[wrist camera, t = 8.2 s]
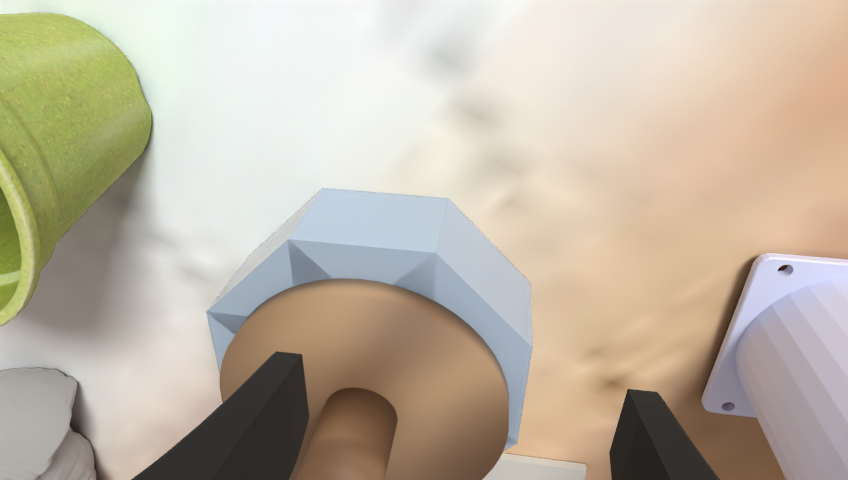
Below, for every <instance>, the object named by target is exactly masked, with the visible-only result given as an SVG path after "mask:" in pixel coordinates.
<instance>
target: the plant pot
mask: <svg viewBox="0 0 848 480" xmlns="http://www.w3.org/2000/svg"><path fill="white" fill-rule="evenodd" d="M151 125H152V120H151V110H150V107H149V106H148V104H147V103H146V101H145V98H144V96H143V93H142V91H141V88H140V86H139V82H138V79H137V75H136V71H135V69H134V67H133V65H132V64H131V63H130V61H129V60H128V59H127V57H126V56H125V55H124V54H123V53H122V52H121V51H120V49H119V48H118V47H117V46H116V45H115V44H113V43H112V42H111V41H110V40H109V39H108V38H107V37H105V36H104V35H103V34H101V33H100V32H99V31H97V30H96V29H94V28H93V27H91V26H89V25H87V24H86V23H84V22H82V21H79V20H77V19H75V18H72V17H68V16H65V15H61V14H53V13H19V14H0V326H2V325H4V324H6V323H7V322H9V321H10V320H11V319H12V318H14V317H15V316H16V315H17V314H18V313H19V312H20V311H21V310H22V309H23V308H24V307H25V306H26V304H27V303H28V302H29V300H30V298H31V297H32V295H33V293H34V290H35V288H36V285H37V282H38V278H39V273H40V270H41V269H42V268H43V267H44V266H45V265H46V263H47V262H48V260H49V259H50V257H51V255H52V253H53V250H54V247H55V244H56V243H57V242H58V241H59V240H60V238H61V237H62V236H63V235H64V234H65V233H66V232H67V231H68V230H69V229H70V228H71V227H72V226H73V224H74V223H75V222H76V221H77V220H78V219H79V218H80V217H81V216H82V215H83V214H84V213H85V212H86V211H87V210H88V208H89V207H90V206H91V205H92V204H93V203H94V202H95V201H96V200H97V199H98V198H99V197H100V196H101V195H102V194H103V193H104V192H105V191H106V190H107V189H108V188H109V187H110V186H111V185H112V184H113V183H114V182H115V181H116V180H117V179H118V178H119V177H120V176H121V175H122V174H123V173H124V172H125V171H126V170H127V169H128V168H129V166H130V165H131V164H132V163H133V162H134V161H135V160H136V159H137V158H138V157H139V156H140V155H141V154H142V153H143V151H144V149H145V147H146V145H147V143H148V140H149V136H150V132H151Z"/></svg>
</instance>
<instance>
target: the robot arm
mask: <svg viewBox="0 0 848 480" xmlns="http://www.w3.org/2000/svg"><path fill="white" fill-rule="evenodd" d="M783 265H789V266H788V267H787V268H786V269H784V270H782V271H777V270H778V269H779V268H780V267H781V266H783ZM701 402H702V404H703V407H704V409H705V410H707V411H708V412H712V413H720V414H728V415H737V416H745V417H754V418H757V420H758V422H759V424H760V426H761V428H762V430H763V432H764V434H765V436H766V438H767V441H768V443H769V445H770V447H771V449H772V451H773V453H774V455H775V457H776V459H777V462H778V464H779V466H780V468H781V470H782V472H783V474H784V476H785V478H786V480H848V260H847V259H835V258H824V257H813V256H801V255H790V254H778V253H765V254H763V255H760V256H759V257H758V258H756V259H755V261H754V262H753V265H752V267H751V270H750V272H749V275H748V278H747V280H746V283H745V286H744V288H743V291H742V293H741V296H740V299H739V301H738V304H737V307H736V309H735V312H734V314H733V317H732V320H731V322H730V325H729V328H728V330H727V333H726V335H725V338H724V341H723V343H722V346H721V349H720V351H719V354H718V356H717V359H716V362H715V364H714V367H713V369H712V372H711V375H710V377H709V380H708V383H707V385H706V388H705V390H704V393H703V396H702V400H701ZM727 402H730V403H728V404H724V403H727ZM308 421H309V409H308V400H307V392H306V383H305V375H304V366H303V357H302V354H296V353H287V352H278V351H276V352H275V353H274V354H272V355H271V356H270V357H269V358H268V359H267V360H266V361H265V362H264V363H263V364H262V365H261V366H260V367H259V368H258V369H257V370H256V371H255V372H254V373H253V374H252V375H251V376H250V377H249V378H248V379H247V380H246V381H245V382H244V383H243V384H242V385H241V386H240V387H239V388H238V389H237V390H236V391H235V392H234V393H233V394H232V395H231V396H230V397H229V398H228V399H227V400H226V401H225V402H223V403H222V404H221V405H220V406H219V407H218V408H217V409H216V410H215V411H214V412H213V413H212V414H211V415H210V416H209V417H207V418H206V419H205V420H204V421H203V422H202V423H201V424H200V425H199V426H197V427H196V428H195V429H194V430H193V431H191V432H190V433H189V434H188V435H187V436H186V437H184V438H183V439H182V440H181V441H180V442H179V443H177V444H176V445H175V446H174V447H173V448H172V449H170V450H169V451H168V452H167V453H165V454H164V455H163V456H162V457H160V458H159V459H158V460H157V461H155V462H154V463H153V464H152V465H150V466H149V467H148V468H146V469H145V470H144V471H142V472H141V473H140V474H138V475H137V476H136V477H134V478H133V479H132V480H289V479H290V476H291V474H292V471H293V469H294V467H295V464H296V462H297V459H298V456H299V452H300V449H301V446H302V442H303V439H304V435H305V432H306V428H307V424H308ZM610 464H611V475H612V480H720V479H719V478H718V477H717V475H716V474H715V473H714V471H713V470H712V469H711V467H710V466H709V465H708V463H707V462H706V461H705V459H704V458H703V457H702V455H701V454H700V452H699V451H698V450H697V448H696V447H695V445H694V444H693V443H692V441H691V440H690V438H689V437H688V436H687V434H686V433H685V431H684V430H683V428H682V427H681V425H680V424H679V423H678V421H677V420H676V418H675V417H674V415H673V414H672V412H671V411H670V409H669V408H668V406H667V405H666V403H665V402H664V400H663V399H662V397H661V396H660V395H659V394H658V393H657V392H650V391H641V390H632V389H628V390H627V394H626V397H625V401H624V404H623V408H622V411H621V415H620V418H619V422H618V425H617V428H616V432H615V435H614V439H613V442H612V446H611V449H610Z"/></svg>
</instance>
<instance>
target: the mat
mask: <svg viewBox="0 0 848 480" xmlns="http://www.w3.org/2000/svg"><path fill="white" fill-rule="evenodd" d="M586 472H587V468H586V464H582V463H574V462H566V461H559V460H551V459H543V458H536V457H528V456H520V455H512V454H505V453H502V455H501V457H500V459H499V460H498V462H497V463H496V465H495V466H494V468H493V469H492V470H491V471H490V472H489V473H488V474H487V475H486V476H485V477H484V478H483V479H482V480H585V476H586Z"/></svg>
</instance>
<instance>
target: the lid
mask: <svg viewBox="0 0 848 480" xmlns="http://www.w3.org/2000/svg"><path fill="white" fill-rule="evenodd" d="M276 351H278V352H287V353H296V354H302V357H303V366H304V375H305V383H306V392H307V400H308V409H309V421H308V424H307V428H306V432H305V435H304V439H303V442H302V446H301V449H300V452H299V456H298V459H297V462H296V464H295V467H294V469H293V471H292V474H291V476H290V479H289V480H482V479H483V478H484V477H485V476H486V475H487V474H488V473H489V472H490V471H491V470H492V469H493V468H494V466H495V465H496V463H497V462H498V460H499V459H500V457H501V455H502V453H503V450H504V448H505V445H506V441H507V437H508V432H509V393H508V387H507V382H506V379H505V376H504V373H503V370H502V367H501V365H500V364H499V362H498V360H497V358H496V356H495V354H494V353H493V351H492V350H491V349H490V347H489V346H488V345H487V343H486V342H485V341H484V339H483V338H482V337H481V336H480V335H479V334H478V333H477V332H476V331H475V330H474V329H473V328H472V327H471V326H470V325H469V324H468V323H466V322H465V321H464V320H463V319H461V318H460V317H459V316H458V315H456V314H455V313H454V312H452V311H450V310H449V309H447V308H446V307H444V306H442V305H441V304H439V303H438V302H436V301H433V300H431V299H429V298H427V297H425V296H423V295H421V294H419V293H416V292H413V291H411V290H408V289H405V288H402V287H399V286H395V285H391V284H387V283H383V282H379V281H371V280H364V279H345V278H336V279H326V280H317V281H312V282H308V283H303V284H299V285H296V286H294V287H291V288H288V289H285V290H283V291H281V292H279V293H277V294H276V295H274V296H272V297H270V298H268V299H267V300H266V301H264V302H263V303H262V304H260V305H259V306H258V307H257V308H256V309H255V310H254V311H253V312H252V313H251V314H250V315H249V316H248V317H247V318H246V320H245V321H244V323H243V324H242V326H241V327H240V329H239V330H238V332H237V333H236V335H235V337H234V338H233V340H232V341H231V343H230V344H229V346H228V347H227V350H226V352H225V355H224V357H223V360H222V365H221V370H220V391H221V396H222V401H223V402H225V401H226V400H227V399H228V398H229V397H230V396H231V395H232V394H233V393H234V392H235V391H236V390H237V389H238V388H239V387H240V386H241V385H242V384H243V383H244V382H245V381H246V380H247V379H248V378H249V377H250V376H251V375H252V374H253V373H254V372H255V371H256V370H257V369H258V368H259V367H260V366H261V365H262V364H263V363H264V362H265V361H266V360H267V359H268V358H269V357H270V356H271V355H272V354H274V353H275V352H276Z"/></svg>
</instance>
